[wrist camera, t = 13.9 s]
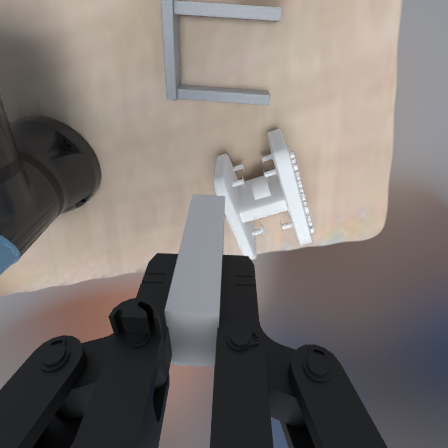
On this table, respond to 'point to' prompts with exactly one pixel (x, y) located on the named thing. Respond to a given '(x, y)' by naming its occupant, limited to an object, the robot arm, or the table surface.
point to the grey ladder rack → (172, 49)
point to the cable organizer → (263, 196)
